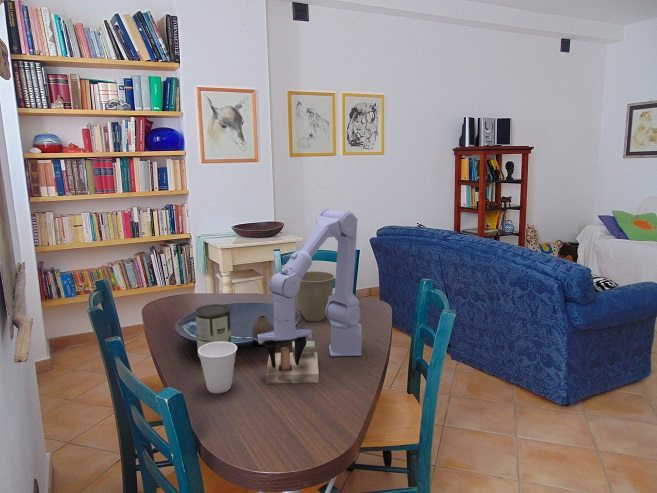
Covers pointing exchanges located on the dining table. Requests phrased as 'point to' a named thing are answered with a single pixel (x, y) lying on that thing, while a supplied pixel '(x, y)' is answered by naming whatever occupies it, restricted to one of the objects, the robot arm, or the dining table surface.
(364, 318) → the dining table surface
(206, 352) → the cup
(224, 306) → the coffee can
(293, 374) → the socket board
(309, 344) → the pale green box
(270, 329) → the vase
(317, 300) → the plant pot
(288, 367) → the peg
